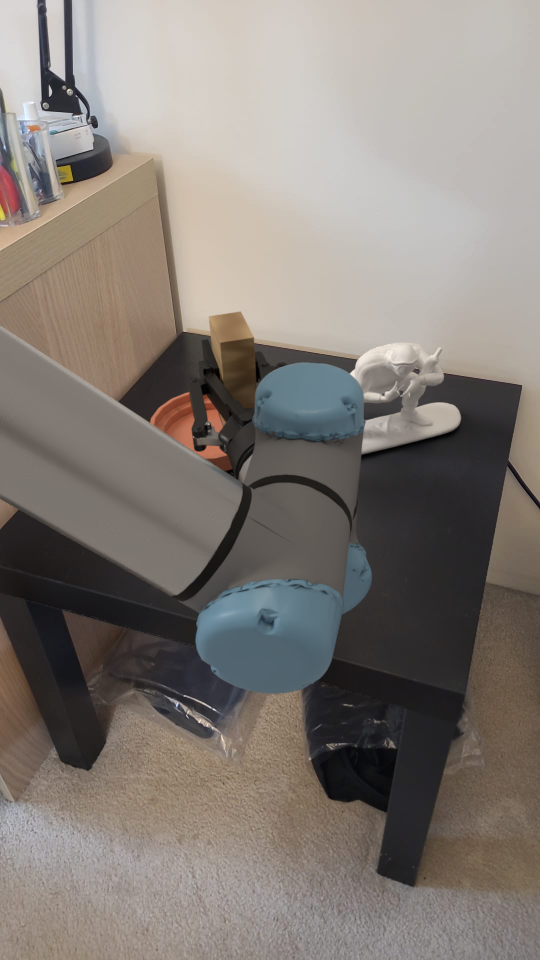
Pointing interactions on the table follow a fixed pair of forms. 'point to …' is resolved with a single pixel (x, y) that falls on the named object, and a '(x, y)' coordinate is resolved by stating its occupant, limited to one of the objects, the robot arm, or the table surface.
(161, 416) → the bowl
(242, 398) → the wooden block
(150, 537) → the robot arm
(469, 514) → the table surface
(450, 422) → the figurine
